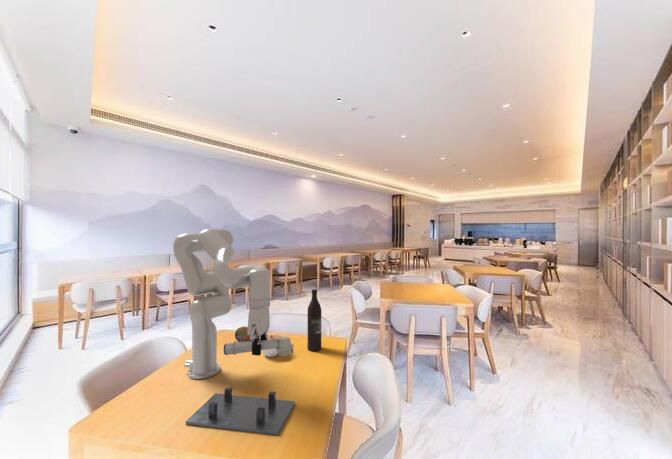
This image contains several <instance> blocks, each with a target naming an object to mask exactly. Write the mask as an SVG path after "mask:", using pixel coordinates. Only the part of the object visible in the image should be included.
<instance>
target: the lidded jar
mask: <svg viewBox="0 0 672 459" xmlns="http://www.w3.org/2000/svg"><path fill="white" fill-rule="evenodd" d="M267 335H268V336H267V340H273V339H279V338H282V337H283V336H282V335H279V334H267ZM261 353H262V354H263V355H264V356H265V357H266V358H275V357H276V356H279V355H278V351H277V350H276V348H273V349H266V350H261Z"/></svg>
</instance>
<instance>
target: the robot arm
mask: <svg viewBox="0 0 672 459" xmlns="http://www.w3.org/2000/svg"><path fill="white" fill-rule="evenodd" d="M233 236H234V235H233V233H232V232H231V231H230V230H228V229H226V228H206V229H203V230H201V231H200V232H199V233H198V232H194V233H193V232H192V233H187V232H186V233H182V234H179V235H178V236H176V238H174V242H173V244H172V246H173V248H172V249H173V254H174V257H175V259H176V261H177V262H178V264H179V267H180V269H181V272H182V275H183V279H184V282H185V286H186V289H187V292H188V293H189V295H190V296H192V297H197V296H202V297H199V298H196V299H194V300H193V301H192V302H191V303H190V305H189V316H190V320H191V322H190V323H191V359H187V360H186V361H185V362H184V363H185V364H184V365H183V366H184V368H189V369H188V371H187V377H189V378H190V379H194V380H202V379H208V378H211V377H213V376H216V375H217V374H218V373H219V372H220V371H221V365H220V364H218V363H217V362H218V360H217V351H218V350H217V345H218V344H217V342H218V341H217V337H218V336H217V335H218V334H217V331H218V330H217V327H216V325H215V323H214V321H213V319H215V318H218V317H221V316H224V315H227V314H228V313H230V312H231V309H232V299H231V296H230V292H229V290H237V289H242V288H245V287H246V288H249V289H248V290H249V291H248V295H249V297H248V298H249V302H248V303H249V304H248V305H249V306H248V308H249V312H248V319H247V327H248V336H250V340H251V344H252V352H251V355H252V356H258V357H259V356H261V354H262V351H261V344H260V340H267V336H268V335H269V334H268V331H269V328H270V319H271V318H270V307H271V272H270V271H271V270H269V269H268V268H263V267H262V268H259V267H255V266H251V265H250V266H240V267H235V268H232V267H231V266H230V265H229V264H228V262H230V260H231V259H233V256H234V255H235V250H234V247H233V246H232V245H233V243H234V237H233ZM195 253H207V254H208V255H209V256H210V257H211V259H212V260H214V261H213V271H205V268H204V265H203V262H202V260H200V258H198V256H196V255H195ZM208 294H211V295H208ZM203 295H208V296H204V297H203ZM256 333H258V335H255V334H256ZM255 337H258V340H257V338H255Z"/></svg>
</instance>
